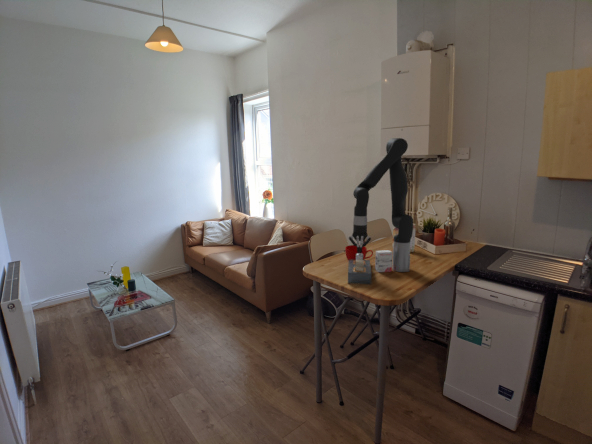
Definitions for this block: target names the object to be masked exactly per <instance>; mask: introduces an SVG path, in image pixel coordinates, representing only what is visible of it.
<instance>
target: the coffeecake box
mask: <svg viewBox="0 0 592 444" xmlns="http://www.w3.org/2000/svg"><path fill="white" fill-rule="evenodd" d="M398 231H399V229H398V228H395V227H394V226H393V225H392V245H391V246H392V248H393V243H394V236H395V235H398ZM415 240H416V223H413V233H412V237H411V240H410V253H412V252H414V251H415V243H416V241H415Z"/></svg>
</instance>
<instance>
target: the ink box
mask: <svg viewBox="0 0 592 444" xmlns="http://www.w3.org/2000/svg"><path fill="white" fill-rule="evenodd" d="M392 265H393V251H391V250H389V249H388V250H387V249H386V250H384V249H383V250H375V267H374V269H375V271H376V272H377V273H387V272H388V273H389V272H390V273H391V272H393V269H392Z"/></svg>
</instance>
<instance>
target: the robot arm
mask: <svg viewBox="0 0 592 444" xmlns="http://www.w3.org/2000/svg"><path fill="white" fill-rule="evenodd" d="M408 146H409V145H408V142H407V140H406V139H404V138H402V137H395V138H390V139H389V140H388V142H387V143H386V146H385V151H386V155H385V156H384V157H383V158H382V159H381V160H380V161H379V162H378V163H377V164H376V165H375V166H374V167H373V168H372V169H371V170H370V171H369V172H368V173H367V175H366V176H365V178H364V179H363V180H362V181H361V182H360V183H359V184H358V185H357V186H356V187H355V189H354V190H353V197H354V198H355V200H356V202H355V205H354V208H353V209H354V210H353V222H352V223H353V224H352V225H353V226H352V227H353V228H352V229H353V230H352V234H351V236H349V237H348V240H349V241H350V243H351V245H354V246H357V252H358V253H359V251H360V254H361V253H362V247H363V246H364V247H366V246H367V245H368V244H369V243H370V241H371V240H372V238H371V236H370V235H368V205H369V201H370V193H369V192H370V190H371V189H373V188H375V187H376V185H377V184H378V183H379V182H380V181H381V179H382V178H383V177H384V175H385V174H386V173H387V172H389V185H390V186H389V187H390V196H391V197H390V198H391V223H392V227H393V226H394V227H395V228H398V229H399V231H398V235H395V236H394V243H393V247H392V248H393V249H392V252H393V255H392V271H394V272H398V273H399V272H400V273H405V272H406V273H407V272H410V270H411V269H410V268H411V267H410V266H411V255H410V254H411V252H410V240H411V237H412V233H413V224H414V219H413V216H412V215H409V214H408V213H405V211H404V209H405V207H404V206H405V205H404V204H405V200H406V197H407V194H408V191H409V185H408V177H407V174H406V172H405V169H404V167H403V163H402V156H403V155H404V154H405V153H406V152H407V150H408ZM363 241H364V242H363ZM359 245H360V246H359Z"/></svg>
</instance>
